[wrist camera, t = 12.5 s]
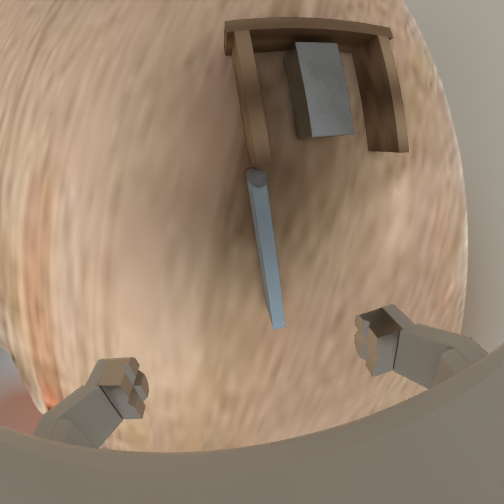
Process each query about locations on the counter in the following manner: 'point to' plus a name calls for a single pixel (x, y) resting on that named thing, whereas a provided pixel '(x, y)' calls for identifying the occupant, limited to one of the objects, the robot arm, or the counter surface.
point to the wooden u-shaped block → (348, 40)
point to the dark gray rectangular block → (318, 90)
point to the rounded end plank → (265, 244)
